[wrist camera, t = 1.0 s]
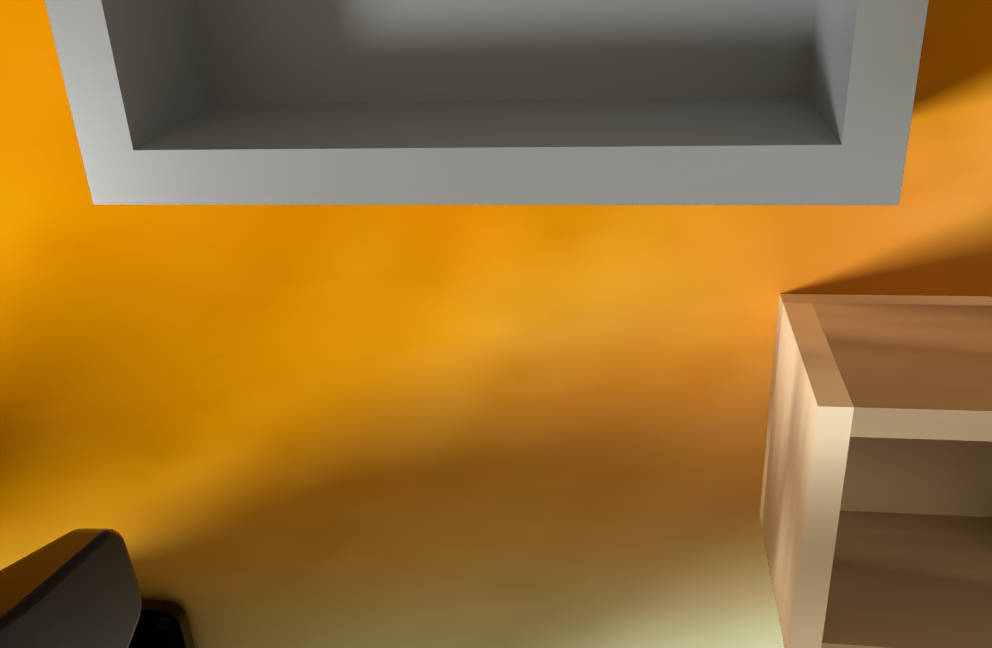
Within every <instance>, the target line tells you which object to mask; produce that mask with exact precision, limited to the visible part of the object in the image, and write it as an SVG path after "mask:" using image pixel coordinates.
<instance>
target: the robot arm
mask: <svg viewBox="0 0 992 648" xmlns="http://www.w3.org/2000/svg"><path fill="white" fill-rule="evenodd" d="M166 618H167V619H168V620H167V619H166ZM0 648H194V645H193V641H192V637H191V632H190V628H189V624H188V620H187V616H186V613H185V611H184V610H183V609H182V608H181V607H180V606H179V605H178V604H176V603H174V602H171V601H165V600H149V599H141V592H140V589H139V585H138V582H137V579H136V576H135V573H134V570H133V566H132V563H131V560H130V557H129V554H128V551H127V547H126V544H125V542H124V539H123V537H122V536H121V535H120V534H119V533H118V532H117V531H115V530H113V529H77V530H73V531H71V532H69V533H67V534H65V535H64V536H62V537H60V538H58V539H56V540H55V541H53V542H51V543H49V544H47V545H46V546H44V547H42V548H40V549H38V550H37V551H35V552H33V553H31V554H29V555H28V556H26V557H24V558H22V559H20V560H18V561H17V562H15V563H13V564H11V565H9V566H8V567H6V568H4V569H2V570H0Z"/></svg>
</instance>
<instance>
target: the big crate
mask: <svg viewBox="0 0 992 648" xmlns="http://www.w3.org/2000/svg"><path fill="white" fill-rule="evenodd" d="M45 3H46V8H47V12H48V16H49V20H50V24H51V29H52V33H53V37H54V41H55V45H56V50H57V54H58V58H59V62H60V66H61V71H62V75H63V79H64V83H65V87H66V92H67V96H68V100H69V104H70V108H71V113H72V117H73V121H74V125H75V129H76V134H77V138H78V142H79V146H80V150H81V155H82V159H83V163H84V167H85V171H86V176H87V180H88V184H89V188H90V192H91V197H92V201H93V204H220V205H899V200H900V193H901V187H902V180H903V173H904V166H905V159H906V152H907V146H908V139H909V132H910V125H911V118H912V112H913V105H914V98H915V91H916V84H917V77H918V71H919V64H920V57H921V50H922V43H923V37H924V30H925V23H926V16H927V9H928V3H929V0H45Z"/></svg>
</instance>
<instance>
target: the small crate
mask: <svg viewBox="0 0 992 648" xmlns="http://www.w3.org/2000/svg"><path fill="white" fill-rule="evenodd" d="M759 516H760V521H761V526H762V531H763V537H764V542H765V547H766V552H767V558H768V563H769V568H770V573H771V579H772V584H773V589H774V594H775V600H776V605H777V610H778V615H779V621H780V626H781V631H782V636H783V641H784V647H785V648H992V296H925V295H846V294H780V298H779V309H778V320H777V331H776V342H775V353H774V363H773V374H772V385H771V396H770V407H769V417H768V428H767V439H766V450H765V461H764V471H763V482H762V493H761V504H760V515H759Z"/></svg>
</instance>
